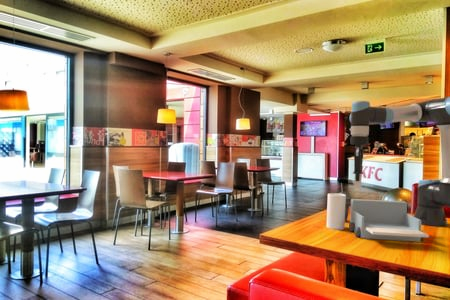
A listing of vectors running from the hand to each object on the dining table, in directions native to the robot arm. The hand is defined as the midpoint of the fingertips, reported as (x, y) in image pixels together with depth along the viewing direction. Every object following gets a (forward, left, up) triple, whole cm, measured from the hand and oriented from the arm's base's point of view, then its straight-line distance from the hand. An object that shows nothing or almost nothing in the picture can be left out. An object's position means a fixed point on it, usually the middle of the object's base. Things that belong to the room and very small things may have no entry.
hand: (357, 188), depth 148 cm
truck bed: (-12, -1, -20) cm, 24 cm away
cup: (+7, -9, -21) cm, 24 cm away
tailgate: (-12, +8, -16) cm, 22 cm away
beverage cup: (0, -25, -21) cm, 33 cm away
